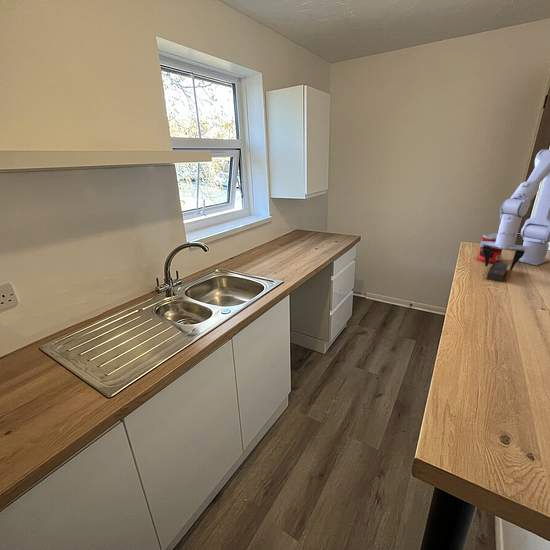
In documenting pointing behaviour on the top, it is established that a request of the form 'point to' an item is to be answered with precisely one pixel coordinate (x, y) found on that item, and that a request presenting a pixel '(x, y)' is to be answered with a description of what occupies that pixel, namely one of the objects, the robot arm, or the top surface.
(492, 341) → the top surface
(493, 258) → the canned food
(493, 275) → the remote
